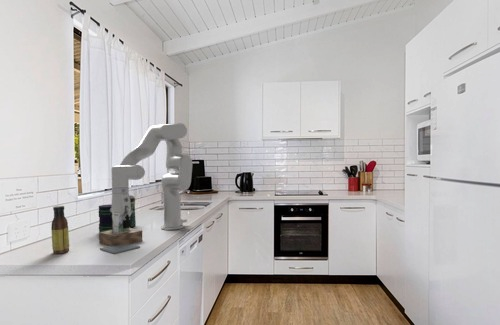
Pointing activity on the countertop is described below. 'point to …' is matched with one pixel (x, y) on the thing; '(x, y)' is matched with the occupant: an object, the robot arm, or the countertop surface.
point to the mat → (119, 248)
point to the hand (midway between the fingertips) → (120, 226)
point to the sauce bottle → (60, 231)
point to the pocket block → (120, 237)
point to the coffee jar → (132, 218)
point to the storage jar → (105, 218)
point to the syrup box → (118, 223)
